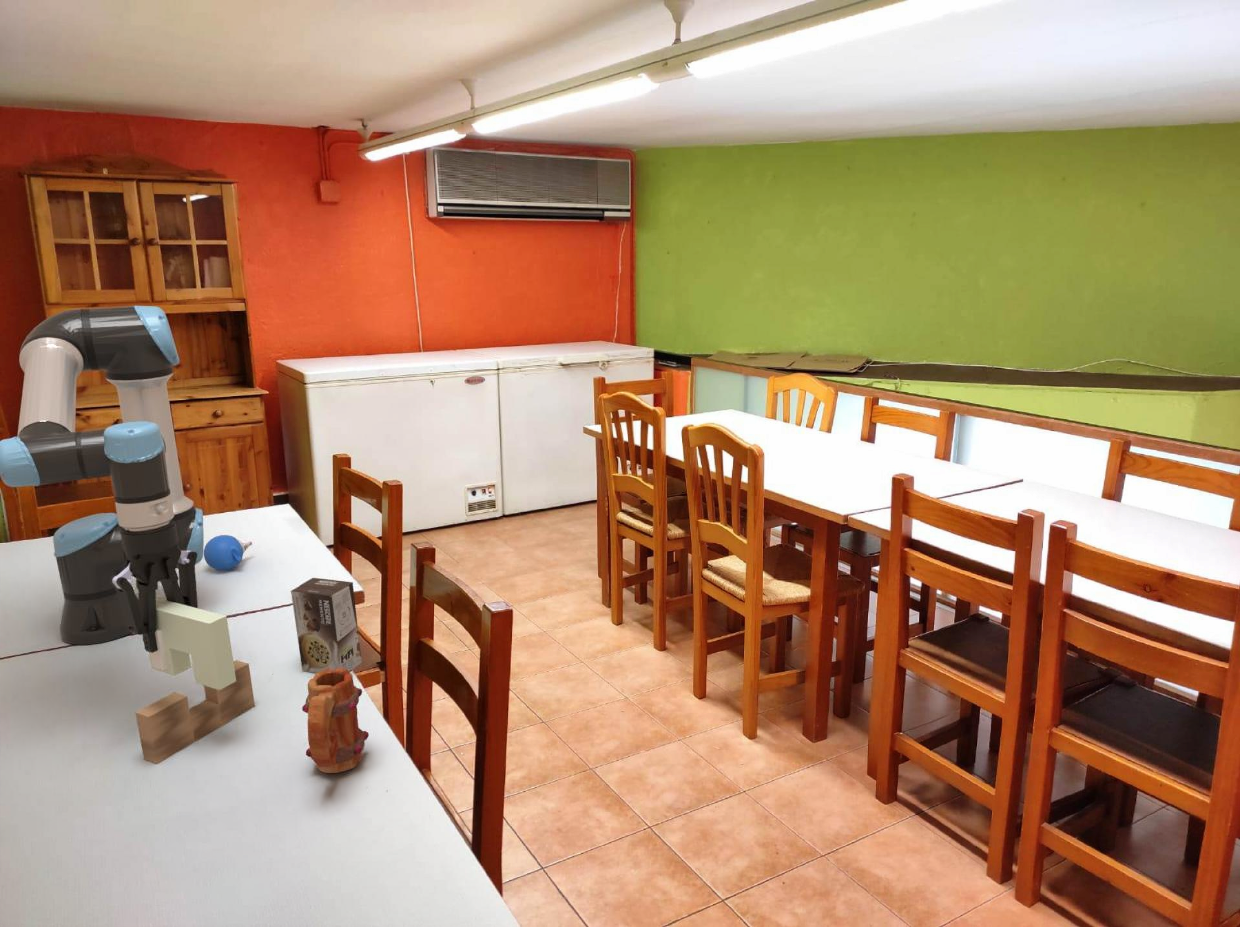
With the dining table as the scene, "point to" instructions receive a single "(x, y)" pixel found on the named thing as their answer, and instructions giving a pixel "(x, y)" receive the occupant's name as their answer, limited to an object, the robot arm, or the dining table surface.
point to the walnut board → (192, 716)
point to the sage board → (196, 643)
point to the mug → (334, 721)
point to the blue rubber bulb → (224, 552)
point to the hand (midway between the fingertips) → (171, 662)
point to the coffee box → (326, 625)
